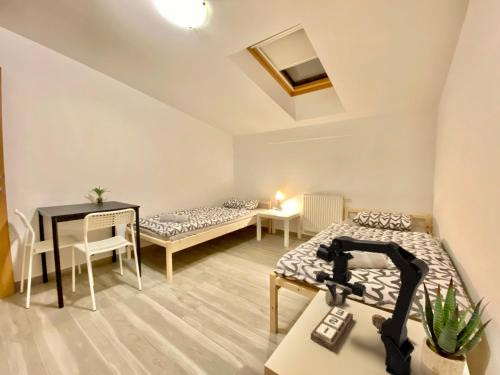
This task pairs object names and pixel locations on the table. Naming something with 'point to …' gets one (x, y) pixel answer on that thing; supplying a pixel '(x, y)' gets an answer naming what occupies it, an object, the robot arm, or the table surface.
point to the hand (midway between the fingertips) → (339, 302)
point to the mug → (331, 301)
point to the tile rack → (338, 335)
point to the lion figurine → (378, 321)
